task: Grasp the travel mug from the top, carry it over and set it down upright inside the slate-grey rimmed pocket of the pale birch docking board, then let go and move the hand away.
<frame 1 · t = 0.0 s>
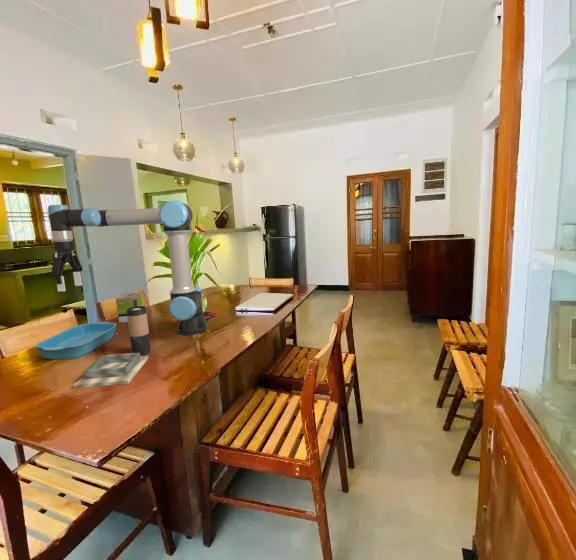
hand: (70, 288, 146), 28 cm above the table, tool pointing down, fingers open, 13 cm apart
tea box: (132, 319, 197), on the table
casserole dish: (81, 348, 150), on the table
travel mug: (141, 353, 140), on the table
docking board: (114, 371, 122), on the table
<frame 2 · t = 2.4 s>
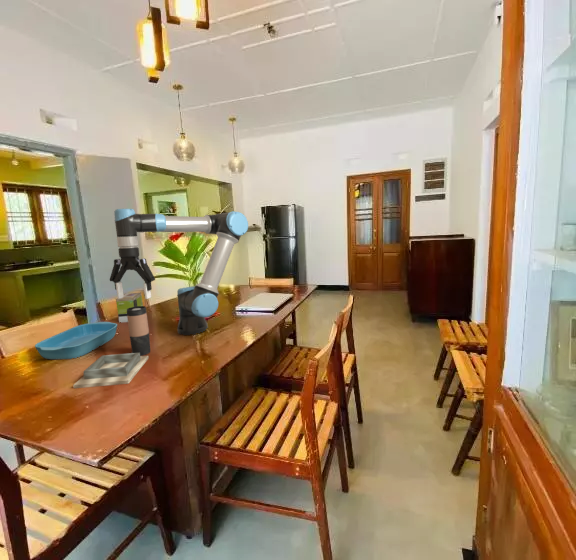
hand: (134, 297, 136), 24 cm above the table, tool pointing down, fingers open, 13 cm apart
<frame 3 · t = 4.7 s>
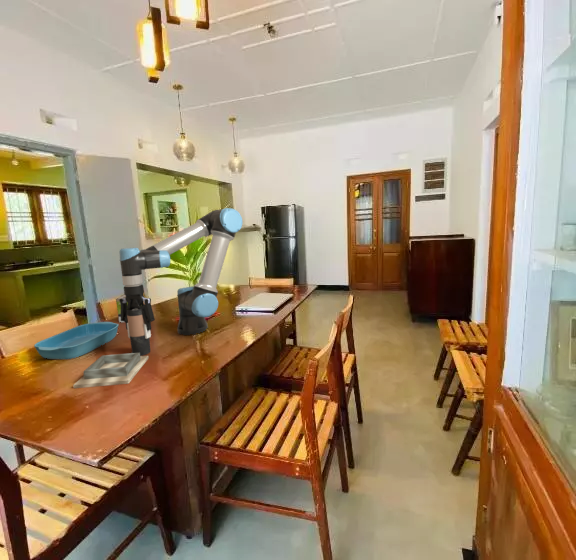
hand: (139, 337, 139), 7 cm above the table, tool pointing down, fingers closed on travel mug, 8 cm apart
travel mug: (141, 353, 140), on the table, touching gripper
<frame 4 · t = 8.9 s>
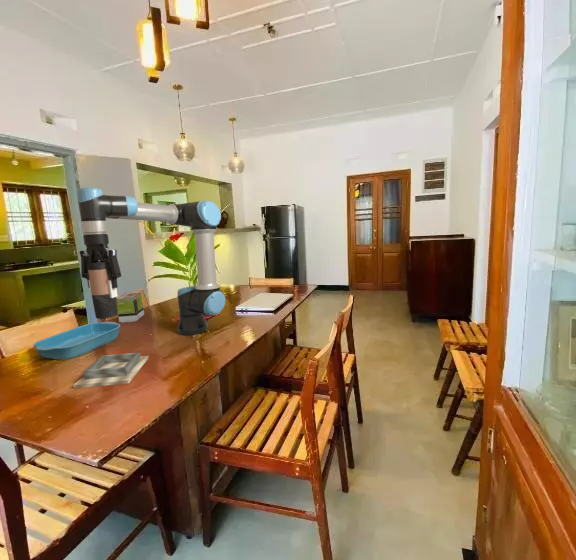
hand: (104, 296, 117), 29 cm above the table, tool pointing down, fingers closed on travel mug, 8 cm apart
travel mug: (107, 316, 119), point 22 cm above the table, touching gripper
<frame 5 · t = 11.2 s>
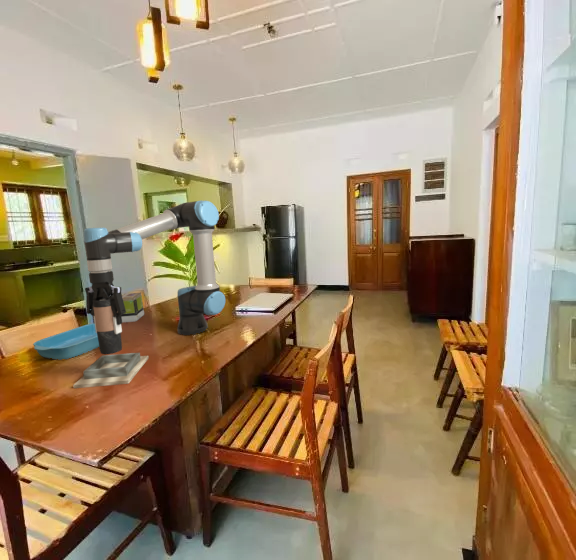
hand: (109, 332, 119), 16 cm above the table, tool pointing down, fingers closed on travel mug, 8 cm apart
travel mug: (111, 351, 121), point 8 cm above the table, touching gripper
when the fingers open (10 cm above the table, at t = 13.3 s): travel mug drops 1 cm, resting on docking board.
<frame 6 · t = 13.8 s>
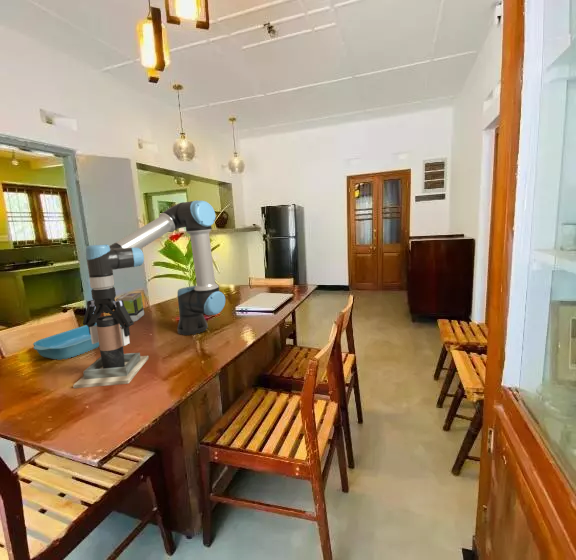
hand: (110, 343, 120), 11 cm above the table, tool pointing down, fingers open, 13 cm apart
travel mug: (114, 369, 122), point 1 cm above the table, touching docking board
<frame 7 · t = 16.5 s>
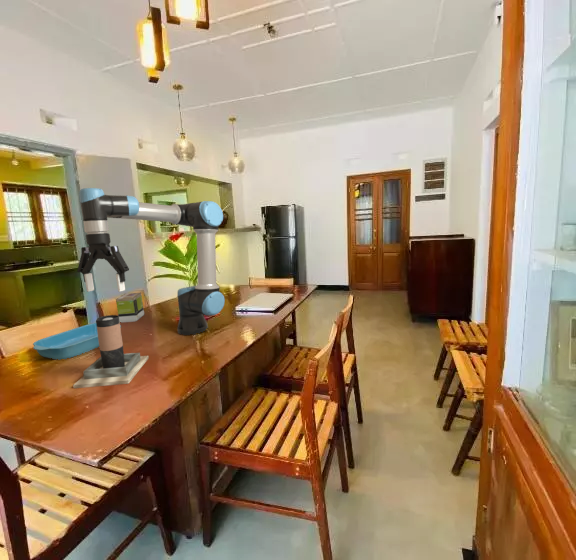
hand: (106, 291, 120), 31 cm above the table, tool pointing down, fingers open, 13 cm apart
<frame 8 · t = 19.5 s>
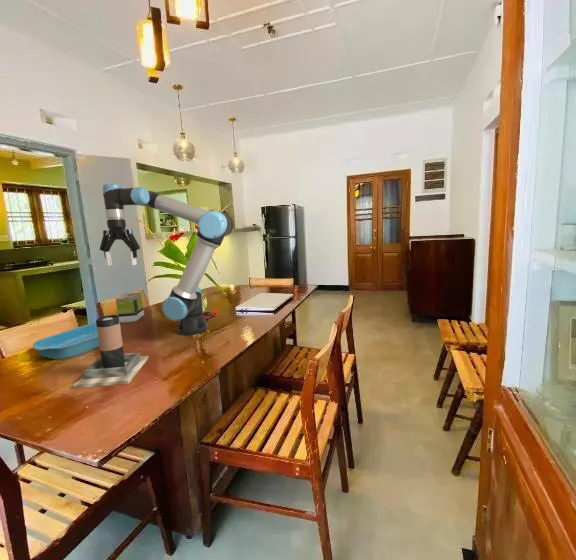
hand: (121, 265, 152), 37 cm above the table, tool pointing down, fingers open, 13 cm apart
at the end: travel mug 0.1 cm off-centre on the docking board, point 1.0 cm above the docking board's base; travel mug tilted 0°; the gripper is holding nothing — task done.
